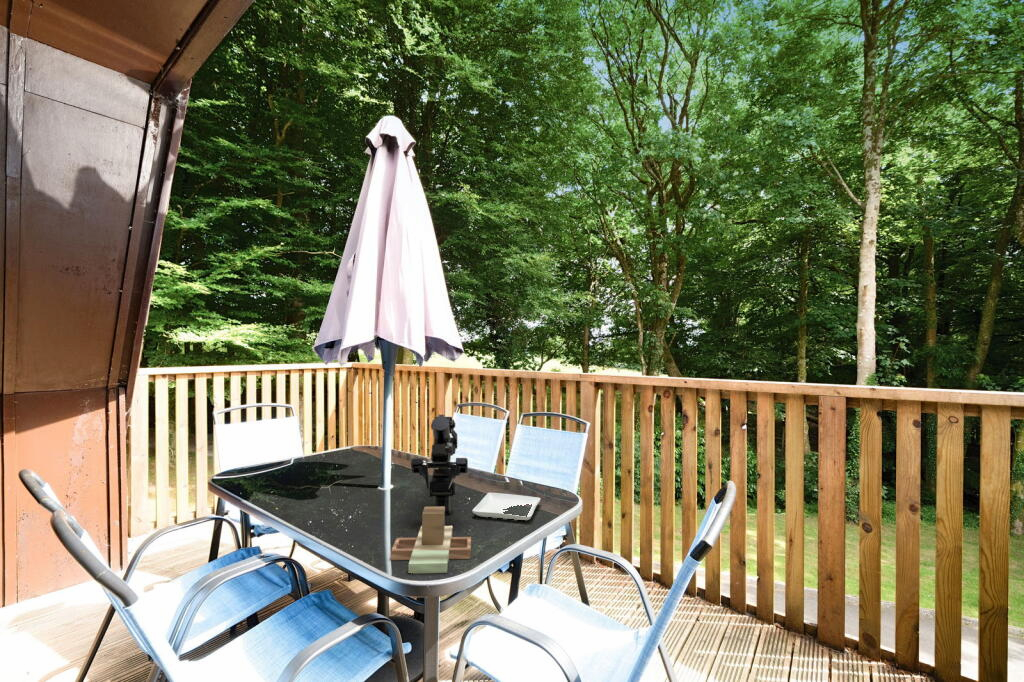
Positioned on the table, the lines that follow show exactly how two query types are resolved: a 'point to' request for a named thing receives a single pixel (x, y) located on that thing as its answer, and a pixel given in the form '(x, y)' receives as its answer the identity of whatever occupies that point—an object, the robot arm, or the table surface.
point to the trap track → (431, 552)
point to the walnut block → (433, 525)
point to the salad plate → (504, 505)
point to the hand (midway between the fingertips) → (437, 488)
